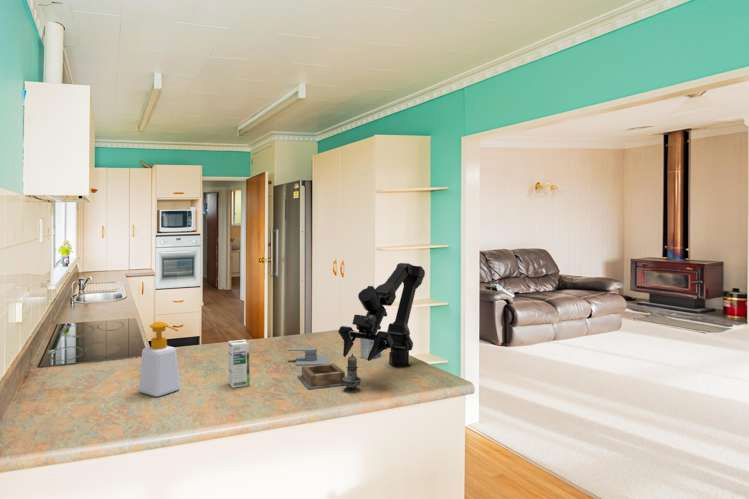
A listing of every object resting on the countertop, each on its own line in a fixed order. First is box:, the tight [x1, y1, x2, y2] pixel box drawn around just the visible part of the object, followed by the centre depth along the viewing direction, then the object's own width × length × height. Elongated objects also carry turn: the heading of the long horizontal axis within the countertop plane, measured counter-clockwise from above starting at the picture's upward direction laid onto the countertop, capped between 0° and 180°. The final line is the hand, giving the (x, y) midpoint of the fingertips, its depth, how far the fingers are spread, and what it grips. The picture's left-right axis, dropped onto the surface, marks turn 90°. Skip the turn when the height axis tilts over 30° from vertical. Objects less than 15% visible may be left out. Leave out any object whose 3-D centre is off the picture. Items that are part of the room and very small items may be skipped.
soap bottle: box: [138, 321, 181, 397], centre depth 171 cm, size 10×14×22 cm
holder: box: [297, 362, 346, 390], centre depth 186 cm, size 14×14×4 cm
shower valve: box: [288, 346, 330, 367], centre depth 210 cm, size 12×6×15 cm
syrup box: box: [227, 339, 251, 389], centre depth 180 cm, size 6×6×14 cm
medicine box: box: [359, 333, 382, 360], centre depth 217 cm, size 8×4×9 cm, turn 139°
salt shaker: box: [343, 353, 362, 394], centre depth 177 cm, size 6×6×12 cm
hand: (356, 358), depth 179 cm, fingers open, 9 cm apart
